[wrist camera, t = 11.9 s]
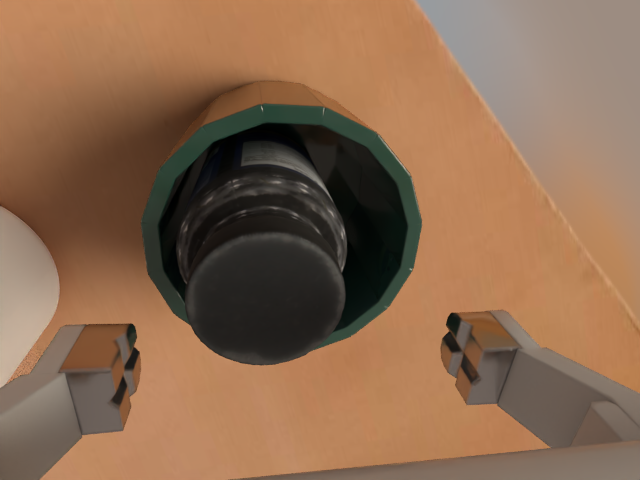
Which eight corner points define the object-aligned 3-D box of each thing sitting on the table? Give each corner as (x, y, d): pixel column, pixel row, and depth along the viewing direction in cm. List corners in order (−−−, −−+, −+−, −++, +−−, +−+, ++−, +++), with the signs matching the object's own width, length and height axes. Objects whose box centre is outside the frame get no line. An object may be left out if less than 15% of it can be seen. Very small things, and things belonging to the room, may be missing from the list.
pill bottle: (241, 254, 23) (232, 412, 13) (176, 162, 20) (103, 278, 11) (336, 203, 23) (399, 329, 13) (283, 102, 20) (311, 164, 10)
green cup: (187, 262, 24) (158, 359, 16) (171, 74, 19) (122, 96, 12) (357, 261, 25) (398, 348, 18) (379, 86, 21) (444, 112, 14)
